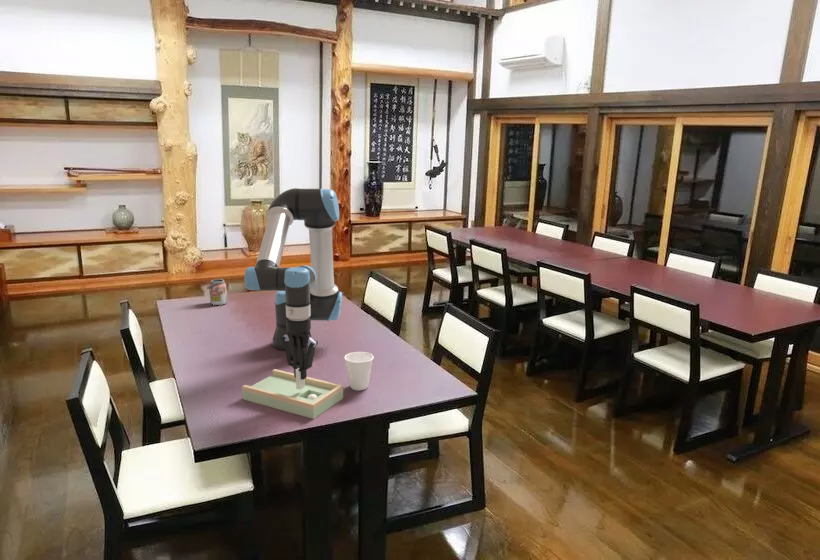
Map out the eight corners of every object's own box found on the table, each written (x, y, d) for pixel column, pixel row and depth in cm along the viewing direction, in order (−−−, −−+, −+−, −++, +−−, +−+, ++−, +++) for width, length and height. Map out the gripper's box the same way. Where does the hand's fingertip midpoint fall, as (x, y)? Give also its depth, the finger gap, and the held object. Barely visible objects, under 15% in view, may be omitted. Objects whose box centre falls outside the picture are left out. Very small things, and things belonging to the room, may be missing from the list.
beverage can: (205, 305, 287) (203, 282, 284) (213, 300, 295) (211, 278, 292) (222, 306, 286) (221, 283, 283) (230, 301, 294) (229, 279, 291)
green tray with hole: (243, 399, 187) (242, 386, 186) (275, 381, 201) (274, 369, 200) (313, 418, 175) (313, 405, 174) (343, 398, 189) (342, 385, 188)
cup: (345, 381, 202) (344, 351, 199) (373, 380, 203) (373, 351, 200) (344, 393, 193) (343, 362, 190) (374, 393, 193) (374, 362, 191)
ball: (314, 399, 181) (311, 408, 183) (321, 395, 184) (318, 404, 186) (305, 394, 183) (303, 403, 184) (312, 390, 186) (310, 399, 187)
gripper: (273, 317, 179) (277, 387, 185) (308, 324, 174) (310, 396, 179) (289, 311, 186) (291, 379, 192) (322, 317, 180) (324, 387, 186)
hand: (300, 387), depth 186 cm, fingers closed
